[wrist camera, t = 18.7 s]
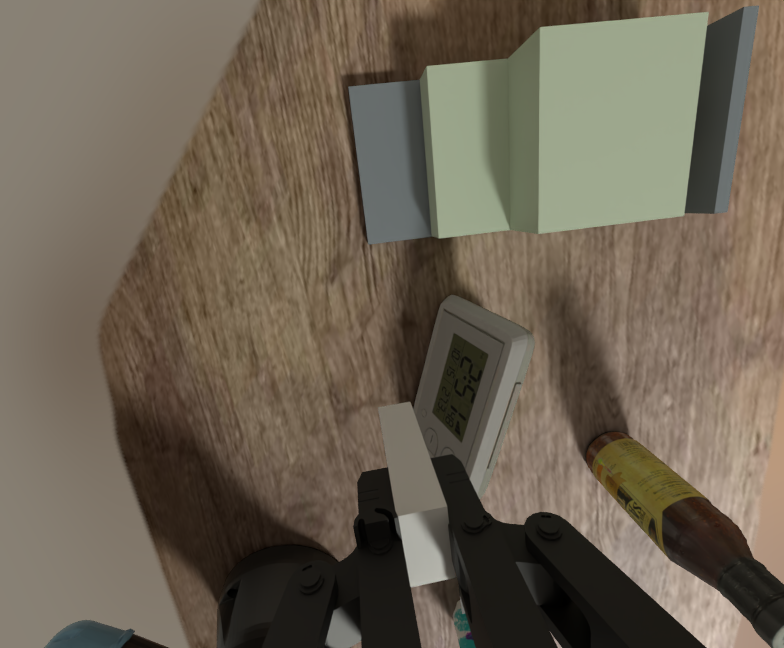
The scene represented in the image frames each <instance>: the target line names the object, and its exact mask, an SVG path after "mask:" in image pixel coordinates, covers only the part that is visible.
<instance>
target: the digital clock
mask: <svg viewBox="0 0 784 648" xmlns="http://www.w3.org/2000/svg"><path fill="white" fill-rule="evenodd" d="M534 344H535V342H534V337H533V335H532V333H531V332H530V331H528V330H527V329H525V328H524V327H522V326H520V325H518V324H516V323H514V322H512V321H510V320H508V319H506V318H504V317H501V316H499V315H497V314H495V313H493V312H491V311H489V310H487V309H485V308H483V307H480V306H478V305H476V304H474V303H472V302H470V301H468V300H466V299H464V298H461V297H459V296H456V295H450V296H448V297H447V298H446V299H445V300H444V301H443V302H442V303H441V305H440V308H439V311H438V314H437V318H436V322H435V326H434V329H433V333H432V337H431V341H430V345H429V349H428V353H427V357H426V361H425V365H424V369H423V372H422V376H421V380H420V384H419V388H418V392H417V396H416V400H415V404H414V408H413V411H414V414H415V416H416V419H417V422H418V425H419V428H420V431H421V433H422V436H423V439H424V442H425V445H426V448H427V451H428V453H429V456H430V458H434V457H439V456H444V455H449V454H453V455H454V456H455V457H457V458H458V459H459V460H460V461H461V462H462V464H463V466H464V468H465V470H466V472H467V474H468V476H469V479H470V481H471V483H472V485H473V487H474V489H475V491H476V493H477V495H478V497H479V499H481V497H482V496H483V495H484V493H485V491H486V489H487V487H488V484H489V481H490V478H491V475H492V473H493V470H494V467H495V464H496V461H497V458H498V455H499V452H500V449H501V446H502V443H503V440H504V437H505V434H506V432H507V429H508V426H509V423H510V420H511V417H512V414H513V411H514V408H515V405H516V402H517V399H518V396H519V393H520V390H521V387H522V384H523V381H524V378H525V375H526V372H527V369H528V366H529V363H530V360H531V356H532V353H533V350H534Z"/></svg>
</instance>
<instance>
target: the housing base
mask: <svg viewBox="0 0 784 648" xmlns="http://www.w3.org/2000/svg"><path fill="white" fill-rule="evenodd" d="M758 9H759V6H749V7H743V8H741V9H739V10H737V11H735V12H733V13H731V14H729V15H727V16H726V17H724V18H722V19H720V20H718V21H716V22H714V23H712V24H710V25H708V26H707V30H706V38H705V47H704V55H703V63H702V71H701V80H700V88H699V96H698V105H697V113H696V121H695V129H694V138H693V146H692V154H691V163H690V171H689V179H688V187H687V196H686V204H685V212H684V213H710V214H715V213H723V212H727V211H728V204H729V198H730V191H731V185H732V178H733V172H734V165H735V159H736V152H737V146H738V139H739V133H740V126H741V120H742V113H743V107H744V100H745V94H746V87H747V81H748V74H749V68H750V61H751V55H752V48H753V42H754V35H755V29H756V22H757V16H758ZM348 89H349V98H350V106H351V114H352V121H353V129H354V137H355V145H356V153H357V161H358V169H359V177H360V184H361V192H362V200H363V208H364V216H365V224H366V232H367V239H368V244H376V243H384V242H392V241H400V240H408V239H417V238H425V237H433V236H432V234H431V221H430V208H429V195H428V182H427V169H426V156H425V143H424V130H423V116H422V103H421V90H420V80H412V81H401V82H391V83H381V84H370V85H360V86H350V87H348Z"/></svg>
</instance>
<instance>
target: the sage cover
mask: <svg viewBox="0 0 784 648" xmlns="http://www.w3.org/2000/svg"><path fill="white" fill-rule="evenodd" d="M708 13H709V12H703V13H692V14H681V15H670V16H659V17H648V18H637V19H625V20H614V21H603V22H592V23H581V24H570V25H558V26H547V27H540V28H539V29H538V30H537V31H536V32H534V33H533V34H532V35H531V36H530V37H529V38H528V39H527V40H526V41H525V42H524V43H523V44H522V45H521V46H520V47H519V48H518V49H517V50H516V51H515V52H514V53H513V54H512V55H511V56H510V57H509V58H508V59H497V60H486V61H476V62H465V63H455V64H444V65H433V66H426V68H425V70H424V72H423V74H422V76H421V78H420V90H421V103H422V116H423V130H424V143H425V156H426V169H427V182H428V195H429V208H430V221H431V234H432V236H433V237H436V238H448V237H456V236H464V235H472V234H480V233H489V232H497V231H505V230H515V231H522V232H529V233H536V234H541V233H549V232H557V231H565V230H573V229H582V228H590V227H598V226H606V225H614V224H622V223H630V222H638V221H646V220H655V219H663V218H671V217H679V216H684V212H685V204H686V196H687V187H688V179H689V171H690V163H691V154H692V146H693V138H694V129H695V121H696V113H697V105H698V96H699V88H700V80H701V71H702V63H703V55H704V47H705V38H706V30H707V22H708Z"/></svg>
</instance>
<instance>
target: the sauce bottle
mask: <svg viewBox="0 0 784 648" xmlns="http://www.w3.org/2000/svg"><path fill="white" fill-rule="evenodd" d="M586 460H587V464H588V467H589V468H590V470H591V472H592V473H593V474H594V476H595V477H596V479H597V480H598V481H599V482H600V483H601V484H602V485H603V486H604V488H605V489H606V490H607V491H608V492H609V493H610V494H611V495H612V497H613V498H614V499H615V500H616V501H617V502H618V503H619V504H620V505H621V507H622V508H623V509H624V510H625V511H626V512H627V513H628V514H629V515H630V517H631V518H632V519H633V520H634V521H635V522H636V523H637V524H638V525H639V526H640V527H641V529H642V530H643V531H644V532H645V533H646V534H647V535H648V536H649V537H650V538H651V539H652V541H653V542H654V543H655V544H656V545H657V546H658V547H659V549H660V550H661V551H662V552H663V553H664V554H665V555H666V556H667V557H668V558H669V559H670V560H671V561H672V562H674V563H676V564H677V565H679V566H681V567H682V568H684V569H685V570H687V571H689V572H690V573H692V574H694V575H695V576H697V577H698V578H700V579H701V580H703V581H704V582H706V583H708V584H709V585H711V586H712V587H714V588H715V589H717V590H718V591H720V593H721V594H722V595H723V596H724V597H725V598H727V599H728V600H729V601H730V602H731V603H732V604H733V605H734V606H735V607H736V608H737V609H738V610H739V611H740V613H741V614H742V615H743V616H745V617H746V618H747V619H748V620H749V621H750V622H751V624H752V626H753V628H754V629H755V631H756V632H757V634H758V635H759V636H760V637H761V638H762V639H763V640H764V641H765V642H767V643H768V645H769V646H770V647H771V648H784V584H782V583H781V582H780V581H779V580H778V579H777V578H776V577H775V576H773V575H772V574H771V573H770V572H769V571H768V570H767V569H766V567H765V566H764V565H763V564H761V563H760V562H758V561H757V560H755V559H754V558H753V556H752V553H751V551H750V548H749V546H748V544H747V540H746V538H745V537H744V535H743V534H742V531H741V530H740V529H739V527H738V526H737V525H736V524H735V523H733V522H732V520H731V519H730V518H729V517H727V516H726V515H724V514H723V513H721V512H720V511H719V510H718V509H717V508H716V507H714V506H713V505H712V504H711V502H710V501H709V500H708V499H707V498H706V497H705V496H703V495H702V494H701V493H700V492H699V491H697V490H696V489H695V488H694V487H692V486H691V485H690V484H689V483H688V482H686V481H685V480H684V479H683V478H681V477H680V476H679V475H678V474H677V473H675V472H674V471H673V470H672V469H671V468H669V467H668V466H667V465H666V464H665V463H663V462H662V461H661V460H660V459H659V458H657V457H656V456H655V455H654V454H652V453H651V452H650V451H649V450H647V449H646V448H645V447H644V446H643V445H641V444H640V443H639V442H637V441H636V440H634V439H633V438H632V437H630V436H629V435H627V434H625V433H622V432H609V433H604V434H603V435H601V436H599V437H598V438H597V439H596V440H594V441H593V442H592V443H591V444H590V446H589V448H588V450H587V454H586Z"/></svg>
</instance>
